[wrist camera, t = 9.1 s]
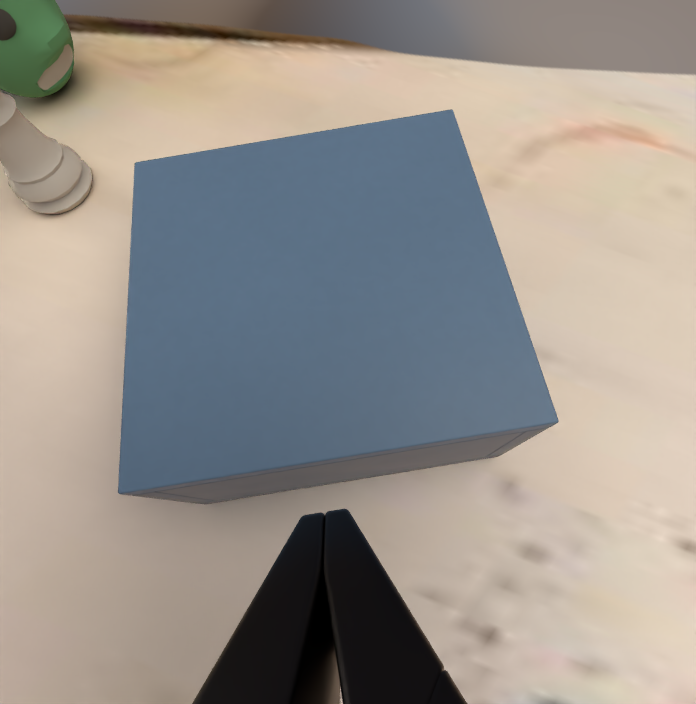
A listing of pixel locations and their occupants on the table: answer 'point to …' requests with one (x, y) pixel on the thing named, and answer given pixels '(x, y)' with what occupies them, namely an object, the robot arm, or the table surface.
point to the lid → (317, 307)
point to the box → (345, 470)
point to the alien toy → (34, 48)
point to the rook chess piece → (40, 164)
